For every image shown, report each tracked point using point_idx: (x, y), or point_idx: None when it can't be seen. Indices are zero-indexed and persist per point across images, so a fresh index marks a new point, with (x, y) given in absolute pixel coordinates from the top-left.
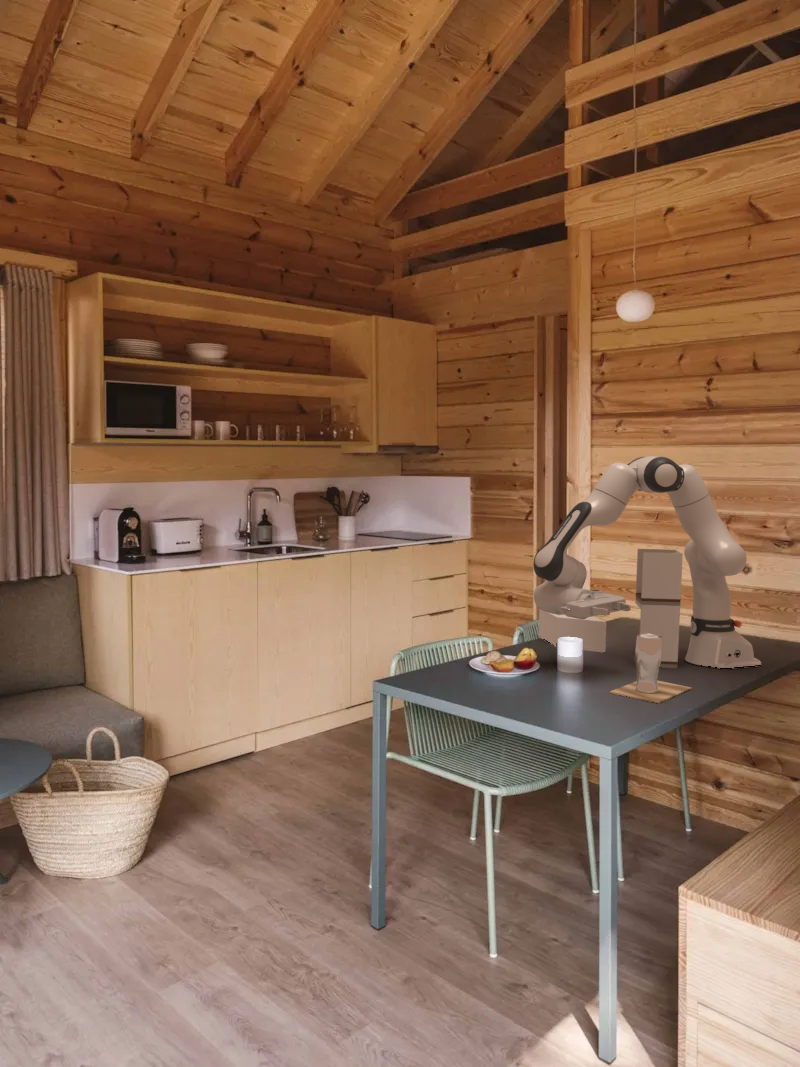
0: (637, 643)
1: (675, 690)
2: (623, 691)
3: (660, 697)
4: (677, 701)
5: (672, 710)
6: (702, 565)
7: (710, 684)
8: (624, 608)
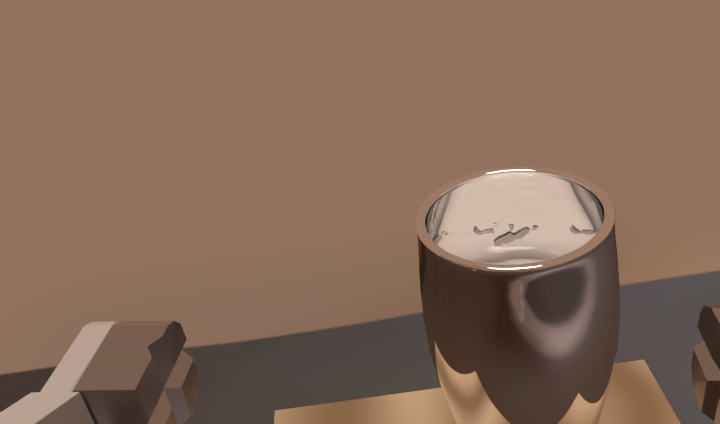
0: (614, 282)
1: (390, 421)
2: None
3: None
4: None
5: (654, 301)
6: None
7: None
8: (169, 405)
